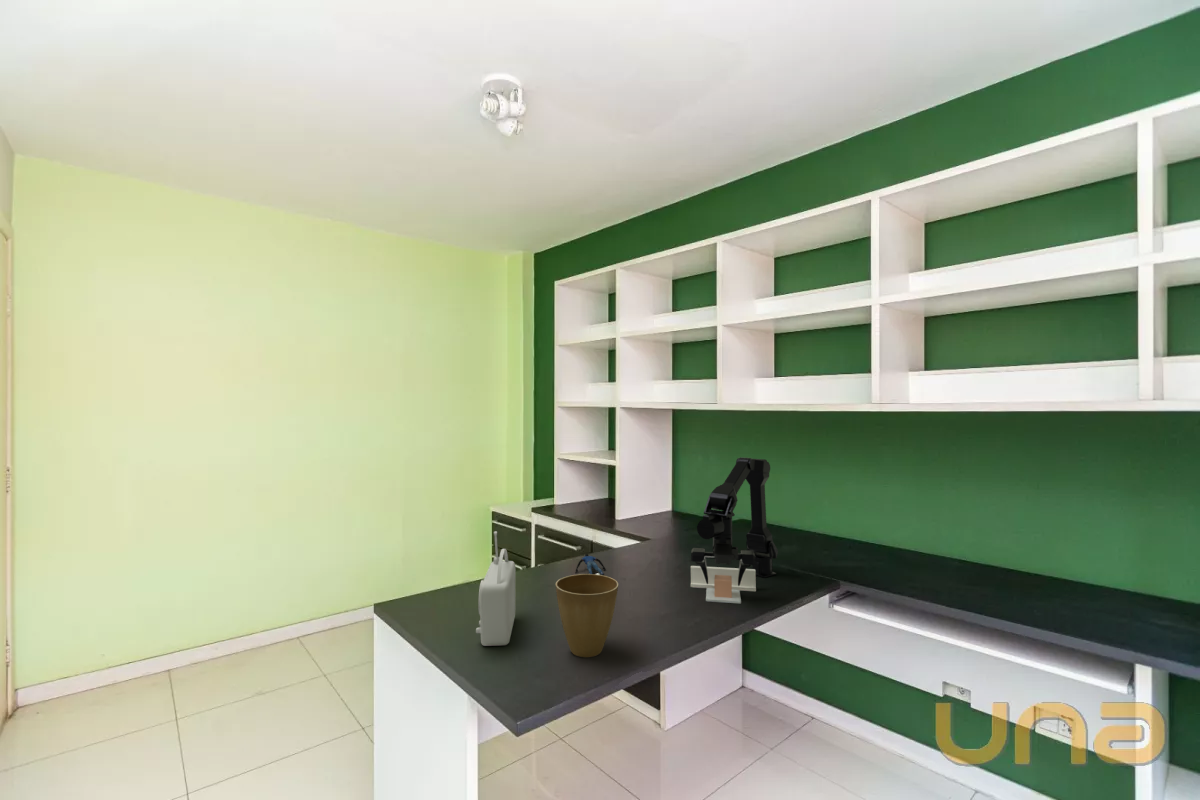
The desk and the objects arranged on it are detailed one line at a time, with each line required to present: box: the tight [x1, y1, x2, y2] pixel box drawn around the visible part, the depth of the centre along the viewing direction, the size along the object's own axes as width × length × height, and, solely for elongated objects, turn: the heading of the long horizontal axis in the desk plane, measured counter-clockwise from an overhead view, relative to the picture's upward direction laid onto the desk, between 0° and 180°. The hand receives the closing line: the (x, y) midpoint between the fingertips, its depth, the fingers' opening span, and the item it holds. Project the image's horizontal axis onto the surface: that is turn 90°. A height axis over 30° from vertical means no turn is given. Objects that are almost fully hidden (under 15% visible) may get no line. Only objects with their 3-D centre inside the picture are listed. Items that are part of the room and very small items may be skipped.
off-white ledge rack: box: [690, 565, 757, 592], centre depth 173 cm, size 4×20×6 cm, turn 78°
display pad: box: [705, 588, 742, 604], centre depth 164 cm, size 10×10×1 cm
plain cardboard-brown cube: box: [714, 575, 732, 598], centre depth 164 cm, size 5×5×5 cm
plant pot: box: [555, 573, 619, 658], centre depth 129 cm, size 15×15×16 cm
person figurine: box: [575, 553, 607, 576], centre depth 187 cm, size 11×4×18 cm
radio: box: [475, 530, 516, 647], centre depth 140 cm, size 22×8×25 cm, turn 4°
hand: (722, 584), depth 164 cm, fingers open, 9 cm apart
